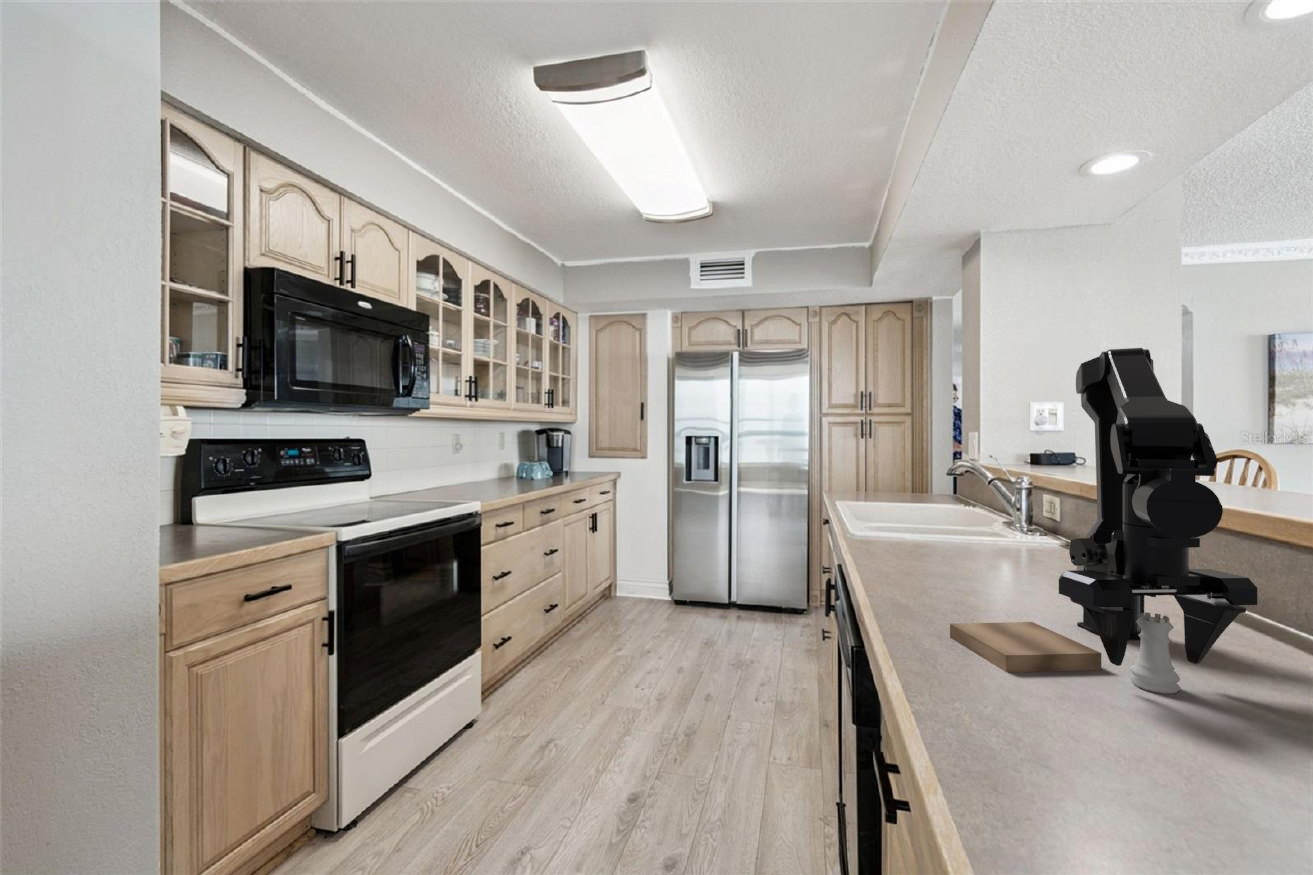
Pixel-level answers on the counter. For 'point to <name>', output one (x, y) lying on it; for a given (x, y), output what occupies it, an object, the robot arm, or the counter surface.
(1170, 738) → the counter surface
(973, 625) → the walnut block
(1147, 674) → the rook chess piece
